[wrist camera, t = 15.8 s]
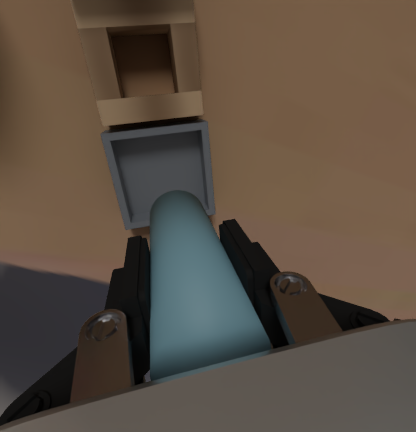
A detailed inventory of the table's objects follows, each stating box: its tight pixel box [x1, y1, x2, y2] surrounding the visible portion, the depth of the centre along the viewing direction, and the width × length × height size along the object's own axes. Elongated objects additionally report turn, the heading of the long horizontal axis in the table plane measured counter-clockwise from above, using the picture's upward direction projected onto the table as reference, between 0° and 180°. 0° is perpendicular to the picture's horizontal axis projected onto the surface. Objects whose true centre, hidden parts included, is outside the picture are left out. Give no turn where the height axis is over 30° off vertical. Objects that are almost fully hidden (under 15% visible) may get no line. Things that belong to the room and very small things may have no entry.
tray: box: [101, 119, 215, 230], centre depth 24 cm, size 9×9×2 cm
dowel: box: [150, 190, 271, 381], centre depth 11 cm, size 3×3×10 cm
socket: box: [70, 0, 203, 126], centre depth 20 cm, size 8×8×3 cm
